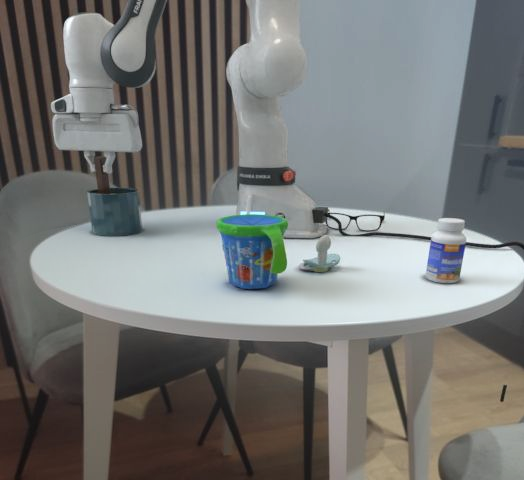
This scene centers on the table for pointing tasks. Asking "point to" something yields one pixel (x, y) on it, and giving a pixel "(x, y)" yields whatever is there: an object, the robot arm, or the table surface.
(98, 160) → the scrubber
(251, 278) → the snack cup
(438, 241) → the pill bottle
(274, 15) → the robot arm
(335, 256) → the pacifier
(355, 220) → the eyeglasses
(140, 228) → the canister
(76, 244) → the table surface
